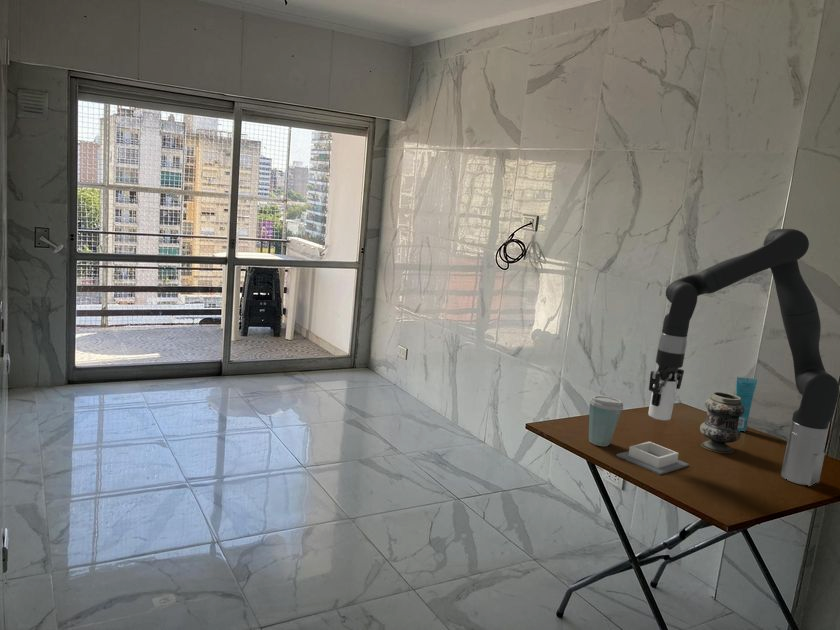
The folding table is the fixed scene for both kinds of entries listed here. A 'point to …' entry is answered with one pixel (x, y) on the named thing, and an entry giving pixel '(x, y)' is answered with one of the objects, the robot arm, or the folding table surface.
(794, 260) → the robot arm
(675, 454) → the board
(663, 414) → the can
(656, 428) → the folding table surface
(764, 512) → the folding table surface
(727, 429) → the apothecary jar
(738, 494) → the folding table surface
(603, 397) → the disposable coffee cup
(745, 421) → the tube
